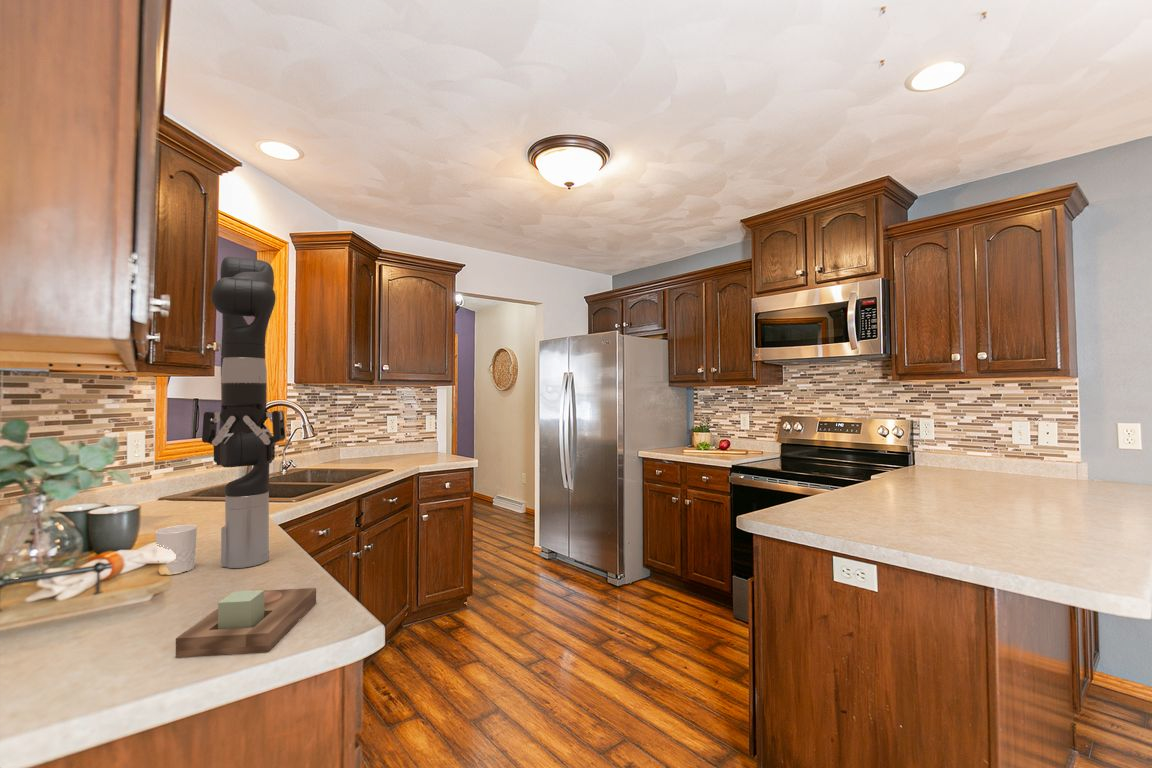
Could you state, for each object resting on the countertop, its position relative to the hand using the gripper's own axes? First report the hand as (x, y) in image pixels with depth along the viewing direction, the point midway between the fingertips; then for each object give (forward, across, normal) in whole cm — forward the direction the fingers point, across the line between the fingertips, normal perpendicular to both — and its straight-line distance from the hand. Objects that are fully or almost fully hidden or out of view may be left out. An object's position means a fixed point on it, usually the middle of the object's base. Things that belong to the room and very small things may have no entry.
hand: (244, 464), depth 103 cm
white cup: (+28, +28, -26) cm, 48 cm away
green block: (+27, -6, +13) cm, 31 cm away
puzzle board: (+28, -6, +9) cm, 30 cm away
